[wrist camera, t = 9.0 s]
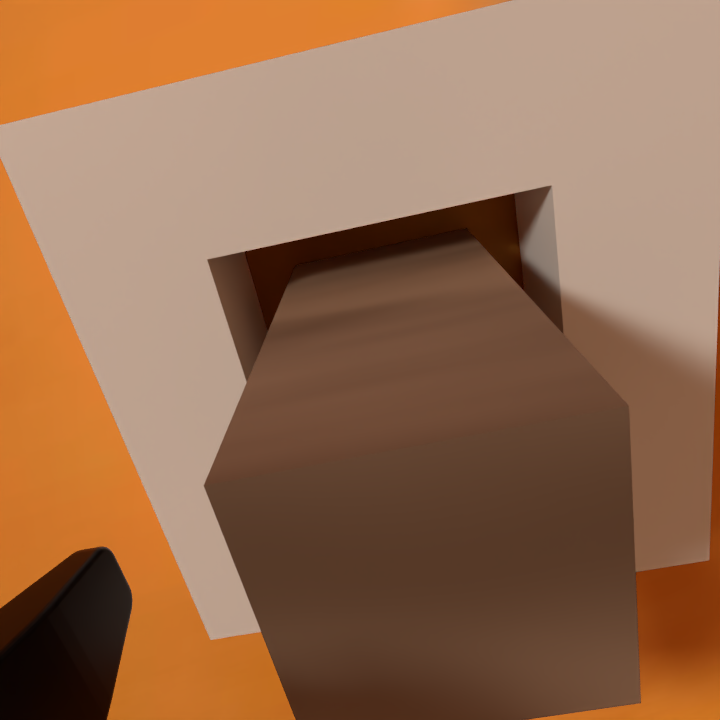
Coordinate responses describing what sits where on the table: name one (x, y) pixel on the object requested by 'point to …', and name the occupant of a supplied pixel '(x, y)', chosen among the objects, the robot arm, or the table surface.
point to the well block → (391, 201)
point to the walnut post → (431, 496)
